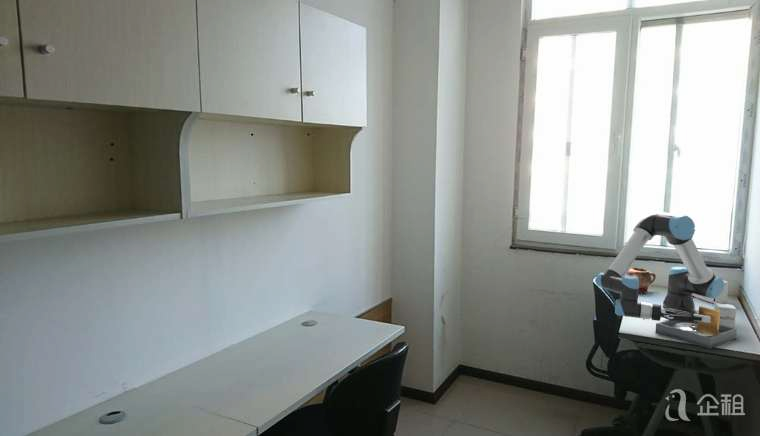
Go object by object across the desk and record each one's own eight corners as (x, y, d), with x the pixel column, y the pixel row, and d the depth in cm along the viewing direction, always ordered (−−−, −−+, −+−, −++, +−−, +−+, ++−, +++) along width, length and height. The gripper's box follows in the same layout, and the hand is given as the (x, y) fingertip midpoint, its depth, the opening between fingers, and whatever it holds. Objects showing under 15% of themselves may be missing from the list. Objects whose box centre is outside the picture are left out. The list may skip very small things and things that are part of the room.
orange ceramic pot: (645, 288, 322) (647, 266, 320) (660, 293, 310) (662, 270, 308) (618, 289, 317) (620, 267, 315) (632, 295, 305) (634, 272, 304)
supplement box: (715, 332, 243) (718, 306, 241) (712, 327, 250) (714, 302, 248) (734, 334, 240) (736, 308, 239) (729, 329, 247) (732, 304, 246)
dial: (666, 329, 242) (668, 303, 240) (687, 323, 250) (689, 298, 248) (706, 341, 226) (709, 314, 225) (726, 335, 235) (729, 308, 233)
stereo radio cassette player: (727, 304, 289) (730, 269, 286) (715, 305, 287) (718, 270, 284) (696, 294, 309) (699, 261, 306) (685, 295, 307) (688, 262, 304)
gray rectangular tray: (681, 323, 255) (682, 314, 255) (735, 338, 235) (736, 329, 235) (655, 332, 242) (656, 323, 242) (709, 348, 222) (710, 338, 222)
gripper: (650, 315, 247) (707, 323, 237) (650, 323, 236) (711, 331, 225) (651, 300, 246) (709, 307, 236) (652, 307, 235) (712, 315, 224)
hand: (710, 319), depth 230 cm, fingers closed
